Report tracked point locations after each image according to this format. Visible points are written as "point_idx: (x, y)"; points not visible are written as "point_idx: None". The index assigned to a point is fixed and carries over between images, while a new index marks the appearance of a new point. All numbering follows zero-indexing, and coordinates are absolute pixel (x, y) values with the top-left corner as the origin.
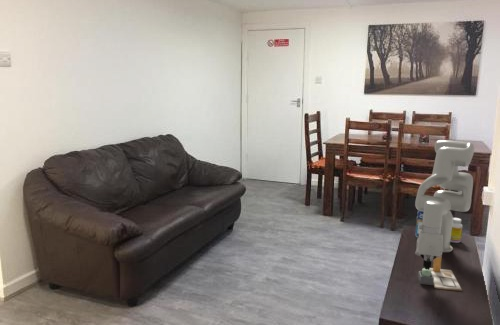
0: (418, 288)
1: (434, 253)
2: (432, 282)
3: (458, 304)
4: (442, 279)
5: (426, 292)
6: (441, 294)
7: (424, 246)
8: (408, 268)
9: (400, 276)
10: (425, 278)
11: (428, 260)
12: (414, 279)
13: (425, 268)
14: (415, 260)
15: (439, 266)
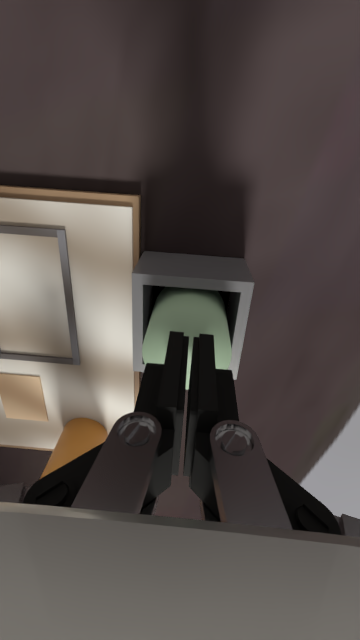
0: (288, 167)
1: (19, 602)
2: (147, 258)
3: None
4: (60, 331)
5: (238, 91)
6: (101, 76)
7: None
8: None
9: (356, 348)
10: (208, 273)
11: (174, 438)
12: (264, 319)
13: (213, 343)
14: (181, 516)
15: (58, 452)
